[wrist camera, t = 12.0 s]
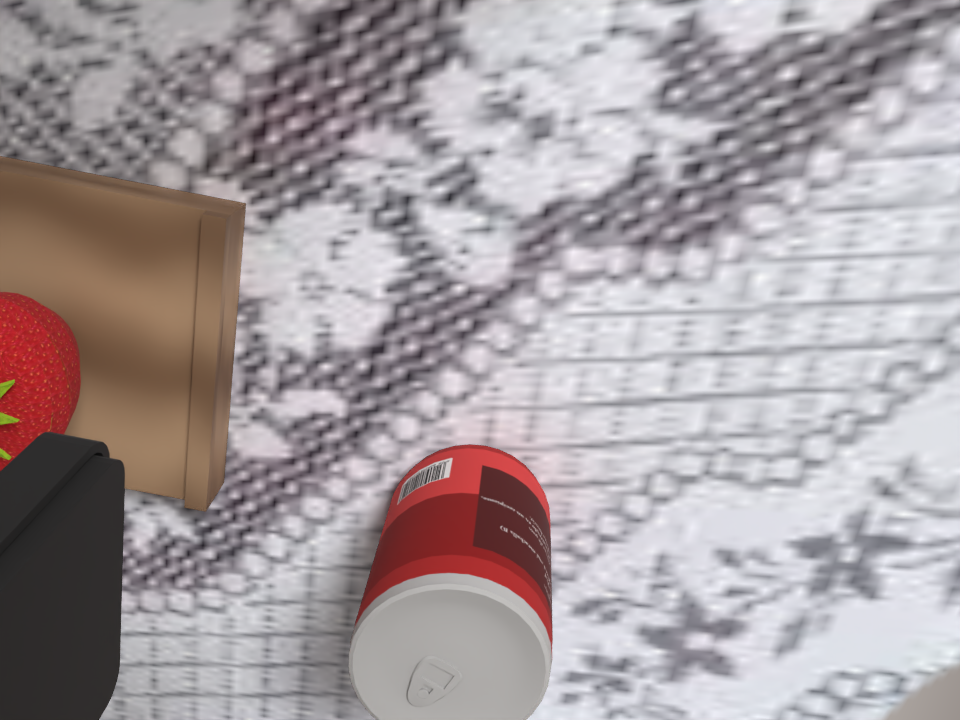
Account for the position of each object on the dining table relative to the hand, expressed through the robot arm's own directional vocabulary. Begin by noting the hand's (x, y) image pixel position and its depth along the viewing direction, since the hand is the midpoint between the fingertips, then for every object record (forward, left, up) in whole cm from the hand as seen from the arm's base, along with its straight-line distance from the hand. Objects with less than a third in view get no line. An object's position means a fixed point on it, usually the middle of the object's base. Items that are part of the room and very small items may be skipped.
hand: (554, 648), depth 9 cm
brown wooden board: (+12, -19, -30) cm, 38 cm away
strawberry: (+12, -19, -28) cm, 36 cm away
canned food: (+18, 0, -31) cm, 35 cm away
